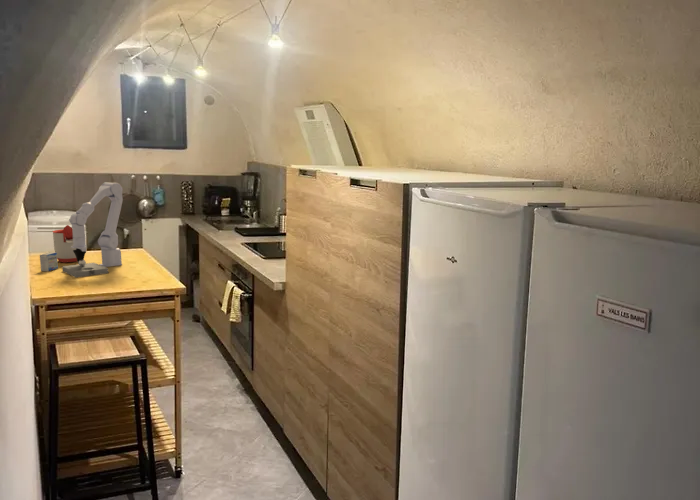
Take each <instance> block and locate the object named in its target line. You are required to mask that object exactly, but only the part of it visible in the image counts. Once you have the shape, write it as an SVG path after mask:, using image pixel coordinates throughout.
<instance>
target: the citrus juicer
mask: <svg viewBox="0 0 700 500" xmlns="http://www.w3.org/2000/svg"><path fill="white" fill-rule="evenodd" d="M52 235H53V236H52V237H53V247H54V252H56V253H57V262H60V263H63V264H67V263H78V262H77V258H76V256H75V253H74V252H73V250H76V248H71V246H73V231H72V226H70V225H68V224H66V225H65V227H64V228H62V229H55V230H52Z"/></svg>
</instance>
